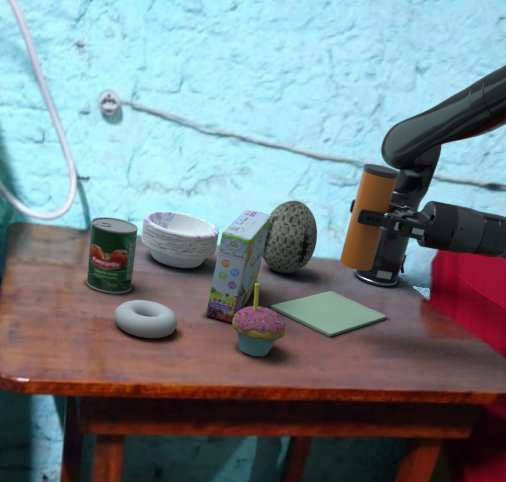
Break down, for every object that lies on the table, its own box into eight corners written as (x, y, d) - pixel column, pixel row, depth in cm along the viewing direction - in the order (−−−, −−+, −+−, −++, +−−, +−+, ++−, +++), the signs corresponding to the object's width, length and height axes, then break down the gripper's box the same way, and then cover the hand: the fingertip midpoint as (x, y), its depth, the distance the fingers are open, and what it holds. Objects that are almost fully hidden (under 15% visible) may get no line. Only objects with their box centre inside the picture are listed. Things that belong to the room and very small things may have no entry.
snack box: (235, 325, 128) (252, 239, 120) (204, 317, 128) (219, 230, 121) (257, 289, 146) (273, 213, 139) (230, 282, 147) (244, 205, 139)
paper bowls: (211, 279, 146) (218, 239, 142) (134, 264, 144) (139, 224, 140) (214, 256, 159) (221, 220, 155) (144, 243, 157) (148, 205, 153)
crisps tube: (351, 257, 130) (376, 163, 122) (377, 268, 128) (404, 173, 120) (333, 261, 126) (357, 164, 118) (360, 272, 124) (387, 173, 116)
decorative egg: (288, 262, 166) (304, 194, 159) (318, 281, 158) (335, 211, 151) (244, 261, 160) (258, 191, 152) (273, 282, 152) (289, 208, 144)
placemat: (329, 293, 153) (330, 290, 153) (386, 318, 146) (387, 316, 146) (270, 308, 139) (270, 305, 138) (329, 337, 132) (330, 333, 132)
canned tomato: (126, 279, 137) (133, 219, 131) (135, 295, 131) (142, 233, 125) (83, 276, 134) (88, 215, 128) (89, 292, 128) (95, 229, 122)
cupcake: (242, 362, 115) (257, 289, 109) (218, 339, 121) (231, 268, 115) (288, 360, 119) (305, 289, 113) (263, 338, 125) (278, 269, 119)
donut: (160, 348, 114) (185, 327, 122) (163, 328, 112) (188, 308, 121) (102, 329, 116) (130, 310, 124) (103, 309, 114) (132, 291, 122)
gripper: (444, 195, 129) (352, 177, 126) (471, 217, 117) (370, 198, 114) (431, 237, 133) (341, 221, 130) (456, 263, 121) (357, 246, 118)
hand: (355, 210), depth 122 cm, fingers closed on crisps tube, 5 cm apart
